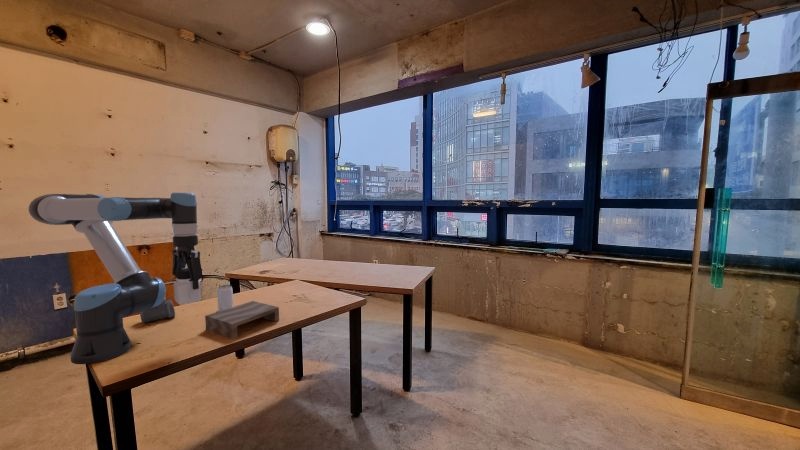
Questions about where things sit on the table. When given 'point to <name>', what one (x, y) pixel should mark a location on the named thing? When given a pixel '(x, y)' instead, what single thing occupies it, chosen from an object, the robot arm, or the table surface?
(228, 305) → the can
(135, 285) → the robot arm
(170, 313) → the pipe fitting
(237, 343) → the table surface
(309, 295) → the table surface
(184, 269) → the medicine bottle
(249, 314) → the shelf stand
